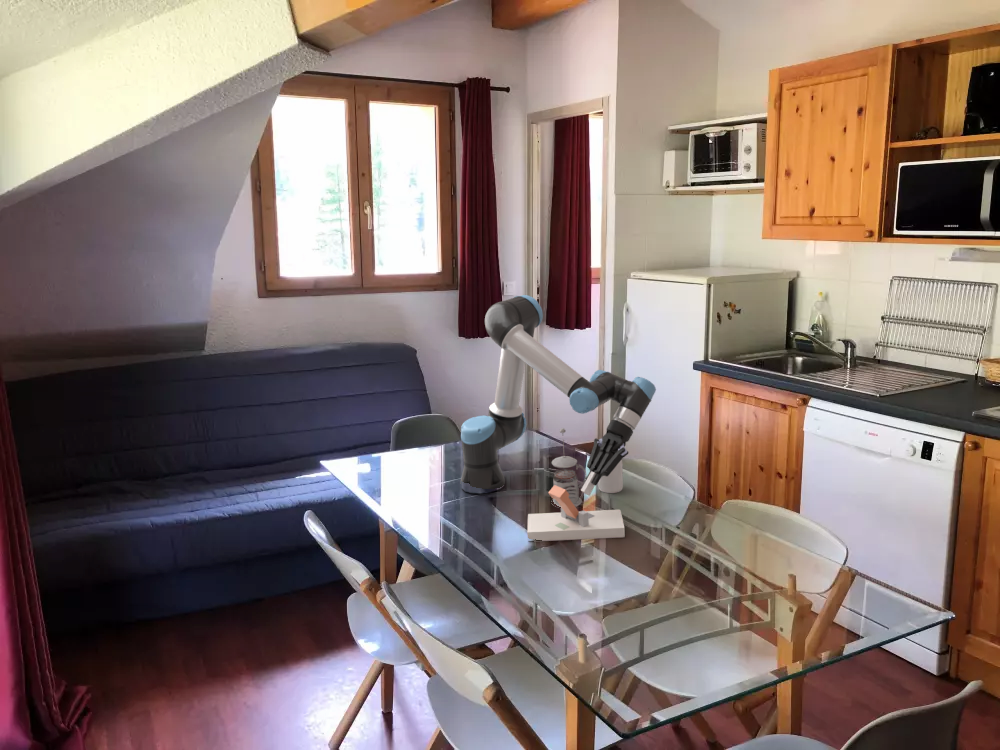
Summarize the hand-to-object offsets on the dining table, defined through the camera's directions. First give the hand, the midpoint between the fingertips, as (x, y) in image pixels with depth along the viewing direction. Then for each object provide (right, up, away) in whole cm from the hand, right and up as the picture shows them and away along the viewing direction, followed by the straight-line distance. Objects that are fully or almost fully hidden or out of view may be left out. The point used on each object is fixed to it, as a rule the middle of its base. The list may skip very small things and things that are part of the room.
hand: (585, 492), depth 237 cm
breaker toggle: (-3, -8, 0) cm, 8 cm away
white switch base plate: (-3, -11, +1) cm, 12 cm away
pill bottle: (+11, -3, +27) cm, 30 cm away
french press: (-3, -6, +20) cm, 21 cm away
